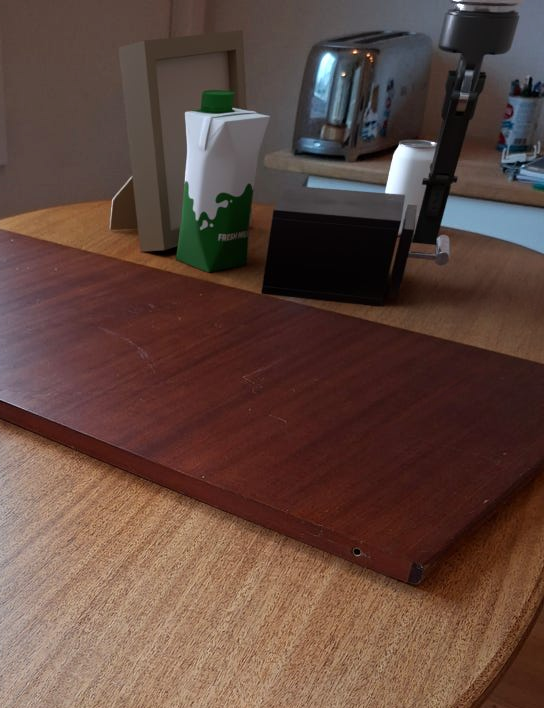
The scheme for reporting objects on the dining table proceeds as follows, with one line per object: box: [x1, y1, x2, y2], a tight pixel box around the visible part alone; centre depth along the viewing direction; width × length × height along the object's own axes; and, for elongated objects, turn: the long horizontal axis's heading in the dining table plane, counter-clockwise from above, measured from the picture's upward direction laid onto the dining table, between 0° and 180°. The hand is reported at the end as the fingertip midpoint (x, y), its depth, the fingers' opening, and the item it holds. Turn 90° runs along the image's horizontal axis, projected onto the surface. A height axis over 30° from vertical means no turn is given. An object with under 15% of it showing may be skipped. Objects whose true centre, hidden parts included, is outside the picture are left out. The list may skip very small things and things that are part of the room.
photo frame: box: [108, 29, 253, 253], centre depth 126 cm, size 15×22×25 cm
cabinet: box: [260, 185, 405, 307], centre depth 112 cm, size 15×14×10 cm
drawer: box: [387, 204, 451, 299], centre depth 111 cm, size 18×13×8 cm
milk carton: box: [175, 90, 271, 273], centre depth 115 cm, size 9×9×20 cm
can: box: [384, 139, 437, 237], centre depth 131 cm, size 6×6×12 cm
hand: (424, 242), depth 108 cm, fingers closed
